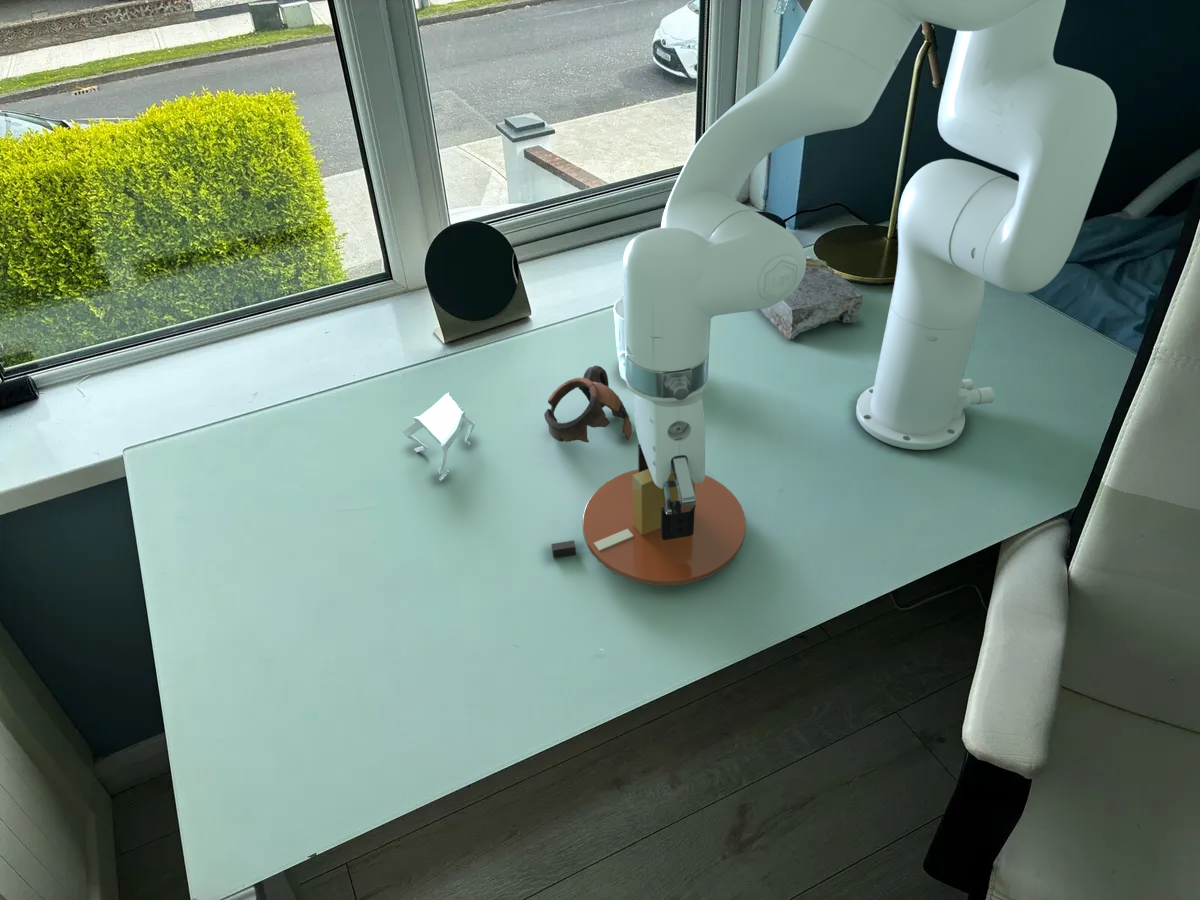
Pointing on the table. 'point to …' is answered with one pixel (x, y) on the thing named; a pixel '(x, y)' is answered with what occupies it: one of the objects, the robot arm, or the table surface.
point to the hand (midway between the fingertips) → (664, 502)
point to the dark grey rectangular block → (563, 549)
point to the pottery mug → (594, 415)
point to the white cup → (620, 335)
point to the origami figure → (441, 426)
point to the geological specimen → (816, 301)
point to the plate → (633, 530)
